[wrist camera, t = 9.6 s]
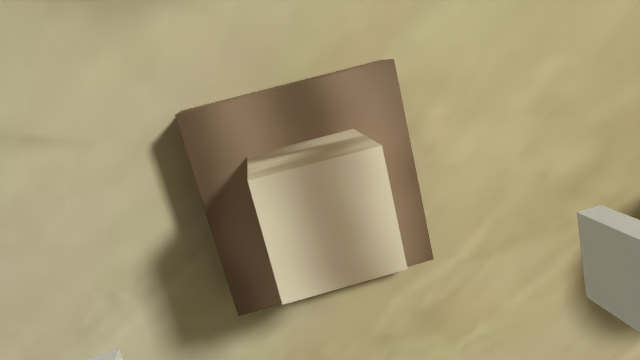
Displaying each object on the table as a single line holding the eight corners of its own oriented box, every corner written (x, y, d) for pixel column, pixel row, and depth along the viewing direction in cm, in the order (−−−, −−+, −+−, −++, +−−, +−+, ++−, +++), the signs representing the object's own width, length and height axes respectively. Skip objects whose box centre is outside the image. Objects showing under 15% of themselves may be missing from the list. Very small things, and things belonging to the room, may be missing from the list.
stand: (239, 296, 31) (238, 315, 29) (181, 110, 28) (174, 115, 26) (419, 244, 32) (433, 259, 30) (381, 59, 29) (393, 59, 27)
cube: (275, 256, 29) (282, 305, 23) (247, 156, 27) (247, 180, 21) (375, 228, 29) (407, 269, 23) (353, 128, 28) (382, 145, 22)
